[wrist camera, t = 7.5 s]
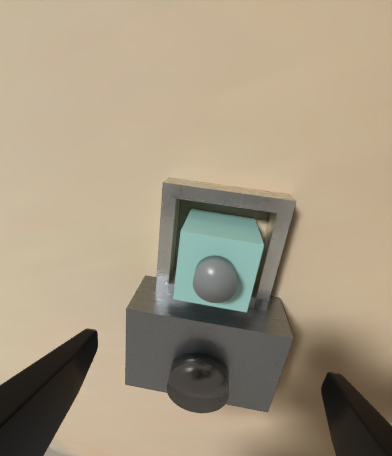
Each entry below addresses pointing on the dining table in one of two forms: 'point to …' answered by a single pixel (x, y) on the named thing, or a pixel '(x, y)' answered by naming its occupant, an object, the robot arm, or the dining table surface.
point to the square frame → (210, 316)
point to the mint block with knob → (217, 260)
